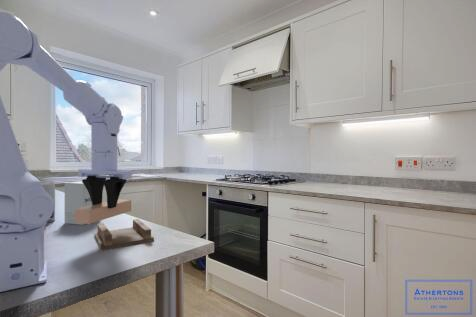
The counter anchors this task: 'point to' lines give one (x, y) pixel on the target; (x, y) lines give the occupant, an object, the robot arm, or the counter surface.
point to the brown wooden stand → (123, 235)
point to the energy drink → (51, 190)
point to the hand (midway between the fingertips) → (104, 206)
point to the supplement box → (75, 200)
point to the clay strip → (101, 211)
